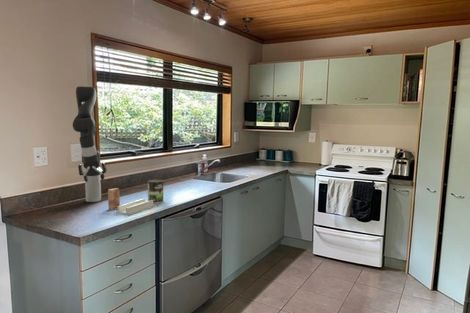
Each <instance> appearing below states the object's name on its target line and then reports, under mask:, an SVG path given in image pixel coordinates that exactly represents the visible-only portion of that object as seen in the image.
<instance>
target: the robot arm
mask: <svg viewBox="0 0 470 313" xmlns="http://www.w3.org/2000/svg"><path fill="white" fill-rule="evenodd" d="M96 91H97V90H96V88H95V87H93V86H77V87H76V89H75V96H76V103H77V110H78V112H77V115H76V116H75V117H74V119H73V122H72V128H73V129H72V130H74V131H75V132H77V133H80V137H79V144H80V150H81V151H80V152H81V162H82V163H80V164H78V166H77V167H78V174H79V176H83V179H84V180H83V181H84V183H85V184H84V186H85V187H84V189H85V202H87V203H96V202H97V203H98V202H100V201H101V200H102V186H101V181H104V180H105V173H107V171H108V170H107V167H106V163H105V161H102V162H101V155H100V154H101V152H100V151H99V150H97V147H96V145H95V141H94V140H95V139H94V137H95V135H96V130H97V129H96V121H95V119H94V118H93V117H92V113H93V108H94V106H95V104H96V102H97V92H96ZM83 168H84V169H85V170H84V172H83Z"/></svg>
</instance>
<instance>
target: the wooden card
mask: <svg viewBox="0 0 470 313" xmlns="http://www.w3.org/2000/svg"><path fill="white" fill-rule="evenodd" d="M107 198H108V199H107V200H108V202H107V203H108V210H110V211H113V210H117V206H120V203H121V202H120V198H121V197H120V188H118V187H114V188H109V189H108V190H107Z"/></svg>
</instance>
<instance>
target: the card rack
mask: <svg viewBox="0 0 470 313" xmlns="http://www.w3.org/2000/svg"><path fill="white" fill-rule="evenodd" d="M155 206H156V205H155V204H153V200H149V201H148V200H147V201H146V198H141V199H137V200H134V201H131V202H127V203H124V204H121V205H120V206H117V209H116V211H115V212H116V214H121V215H127V216H131V215H133V214H136V213H140V212H142V211H146V210H148V209H150V208H151V209H152V208H155Z"/></svg>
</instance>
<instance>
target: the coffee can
mask: <svg viewBox="0 0 470 313" xmlns="http://www.w3.org/2000/svg"><path fill="white" fill-rule="evenodd" d="M149 200H153V205H155V204H161V203H164V180H163V179H158V178H157V179H156V178H155V179H148V180H147V201H149Z"/></svg>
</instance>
